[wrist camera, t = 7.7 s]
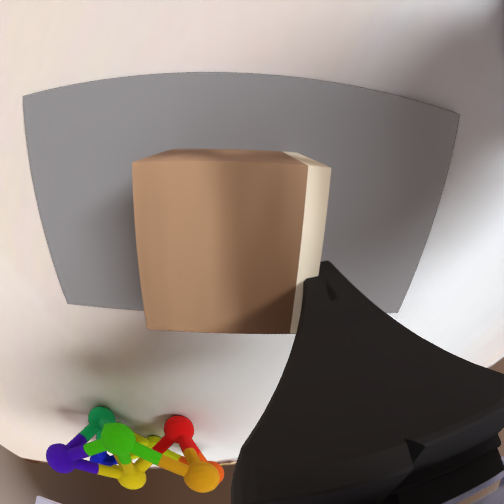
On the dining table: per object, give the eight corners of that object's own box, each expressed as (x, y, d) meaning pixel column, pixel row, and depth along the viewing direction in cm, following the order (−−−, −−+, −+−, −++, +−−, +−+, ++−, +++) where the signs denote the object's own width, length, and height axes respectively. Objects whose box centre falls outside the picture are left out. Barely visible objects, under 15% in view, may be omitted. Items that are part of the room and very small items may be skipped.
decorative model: (221, 483, 26) (84, 492, 21) (203, 411, 31) (74, 418, 26) (246, 486, 16) (35, 494, 12) (217, 375, 22) (27, 382, 17)
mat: (456, 113, 11) (459, 114, 11) (396, 309, 18) (397, 312, 17) (26, 95, 10) (22, 96, 10) (69, 300, 16) (67, 303, 16)
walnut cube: (331, 167, 7) (132, 162, 7) (308, 333, 9) (147, 328, 9) (296, 152, 12) (172, 148, 12) (287, 265, 14) (175, 262, 14)
